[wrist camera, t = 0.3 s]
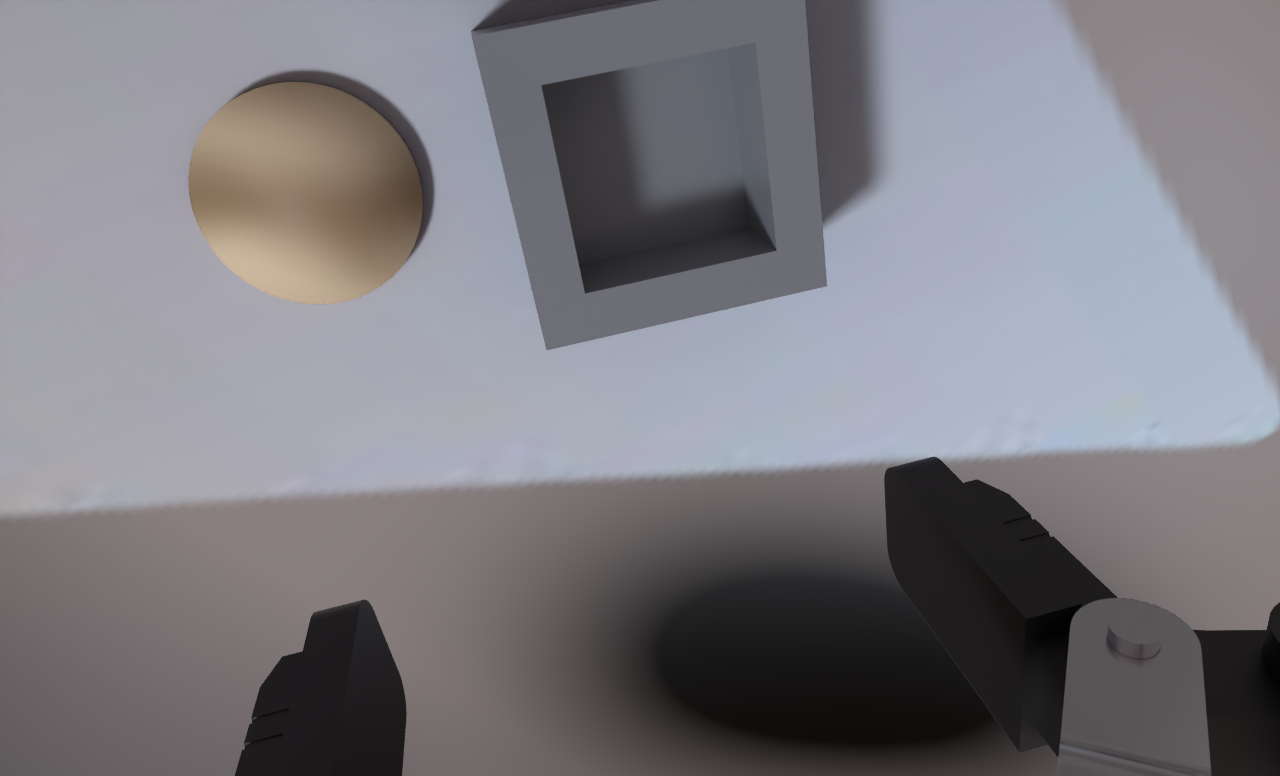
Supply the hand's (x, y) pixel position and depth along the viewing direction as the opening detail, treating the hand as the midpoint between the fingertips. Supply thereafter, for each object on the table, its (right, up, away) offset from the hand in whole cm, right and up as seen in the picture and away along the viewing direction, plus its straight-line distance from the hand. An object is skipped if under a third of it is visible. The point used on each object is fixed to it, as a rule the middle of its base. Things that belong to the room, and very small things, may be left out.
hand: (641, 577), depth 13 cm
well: (0, +13, +24) cm, 28 cm away
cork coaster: (-14, +11, +22) cm, 28 cm away
